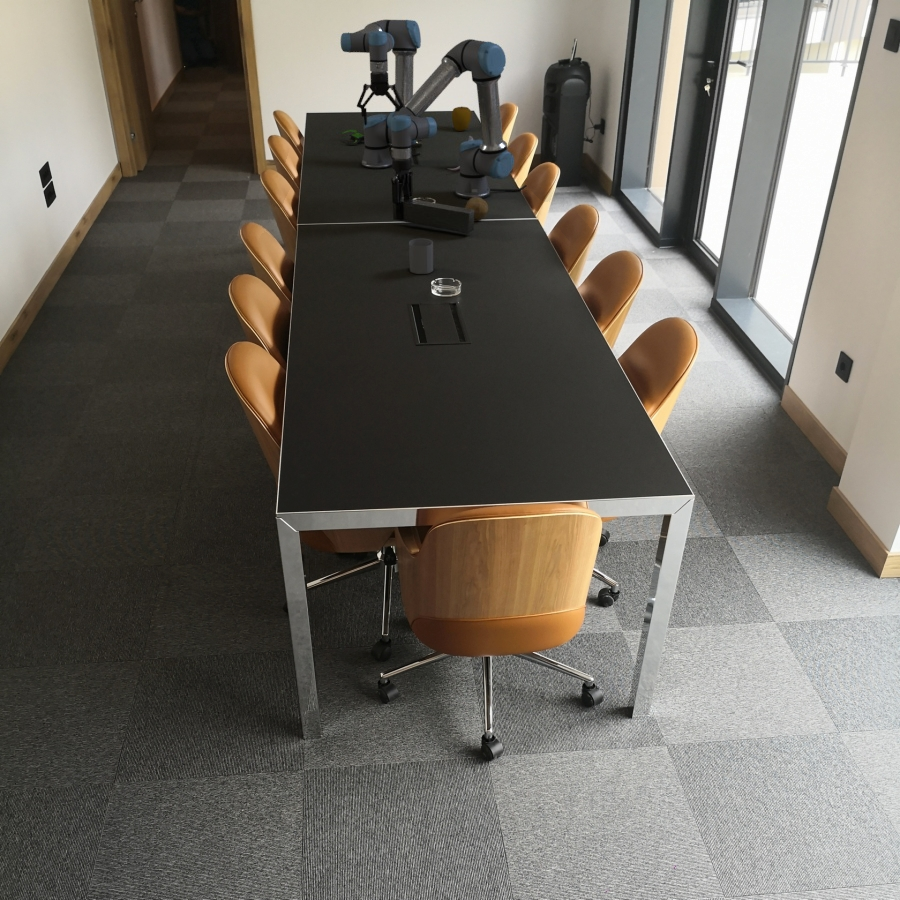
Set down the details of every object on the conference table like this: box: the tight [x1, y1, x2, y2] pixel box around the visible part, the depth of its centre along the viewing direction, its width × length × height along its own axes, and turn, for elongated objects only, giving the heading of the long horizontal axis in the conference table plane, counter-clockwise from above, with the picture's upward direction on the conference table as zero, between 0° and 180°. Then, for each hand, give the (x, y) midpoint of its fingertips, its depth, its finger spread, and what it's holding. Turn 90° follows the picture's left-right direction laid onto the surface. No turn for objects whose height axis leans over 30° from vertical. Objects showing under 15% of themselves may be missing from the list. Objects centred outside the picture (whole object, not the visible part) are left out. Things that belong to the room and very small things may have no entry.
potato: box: [464, 197, 489, 221], centre depth 355 cm, size 10×14×8 cm
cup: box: [408, 237, 434, 275], centre depth 305 cm, size 8×8×10 cm
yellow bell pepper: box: [451, 105, 472, 132], centre depth 487 cm, size 11×11×13 cm
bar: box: [392, 196, 475, 234], centre depth 342 cm, size 34×5×8 cm, turn 63°
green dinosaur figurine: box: [340, 129, 364, 146], centre depth 465 cm, size 6×13×30 cm
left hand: (381, 124), depth 376 cm, fingers open, 13 cm apart
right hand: (403, 217), depth 349 cm, fingers closed on bar, 5 cm apart
